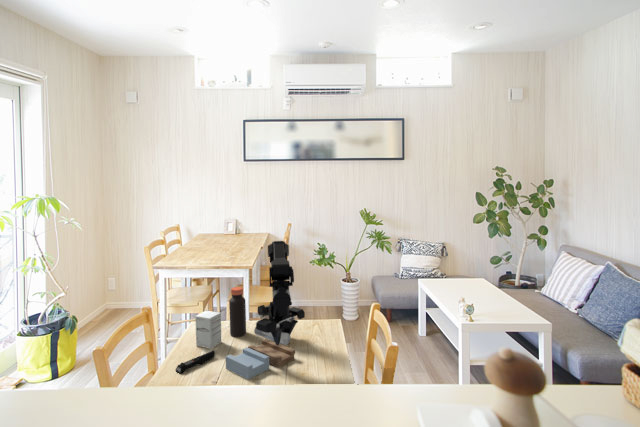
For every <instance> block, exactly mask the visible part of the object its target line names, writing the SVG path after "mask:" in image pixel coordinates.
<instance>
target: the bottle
mask: <svg viewBox="0 0 640 427" xmlns="http://www.w3.org/2000/svg"><path fill="white" fill-rule="evenodd" d="M243 291H244V288H243V287H241V286H235V287H232V288H231V289H230V294H231V298H230V299H229V300H228V303H229V304H228V306H229V331H230V332H229V334H230V336H232V337H234V338H235V337H236V338H239V337H243V336H245V335H246V334H247V316H246V315H247V313H246V312H247V311H246V310H247V309H246V306H247V305H246V299H245V297H244V296H243V293H244V292H243Z"/></svg>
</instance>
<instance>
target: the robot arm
mask: <svg viewBox="0 0 640 427" xmlns="http://www.w3.org/2000/svg"><path fill="white" fill-rule="evenodd" d="M289 256H290V245H289V244H288V243H286V241H284V240H273V241H272V242H271V243H270V244H269V245H267V257H268V258H269V263H270V264H271V266H269V268H268V269H269V271H268V272H269V273H268V275H269V287H270V288H271V287H272V301H270V302H269V305H268V304H267V305H264V304H261V305H258V306H257V315H258V316H261V317H262V319H260V320H258V321H256V323H255V327H256V329H257V330H260V331H263V332H266V333H270V332H271V334H272V336H273V338H274V341H273V342H275V343H276V345H279V344H280V338H281V333H282V331H283V332H286V333H289V334H290V335H292V333H293V330H294V328H295V327H296V325H297V323H298V322H299V321H298V320H302V319H305V317H306V315H305V314H306V312H305V310H304V309H303V308H299V307H295V306H293V307H290V306H292V304H293V302H292V297H291V293H290V287H292V286H293V283H295V275H294V273H295V272H294V269H293V267H292V266H291V265H290V261H289V260H288V257H289ZM266 316H267V317H268V318H266ZM295 317H297V319H298V320H297V319H296V318H295Z"/></svg>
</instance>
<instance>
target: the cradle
mask: <svg viewBox="0 0 640 427" xmlns="http://www.w3.org/2000/svg"><path fill="white" fill-rule="evenodd" d="M225 369H226V370H227V371H230V372H232V373H233V374H236V375H238V376H240V377H242V378H244V379H245V380H250V379H252V378H255V377H257V376H258V375H260V374H262V373H264V372H266V371H269V370H270V364H269V356H266V355H264V354H262V353H259V352H257V351H255V350H252V349H250V348H248V346H247V347H244V348H242V352H241V353H240V354H237V355H235V356H234V355H233V354H229V355H228V354H227V355H225Z"/></svg>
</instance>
